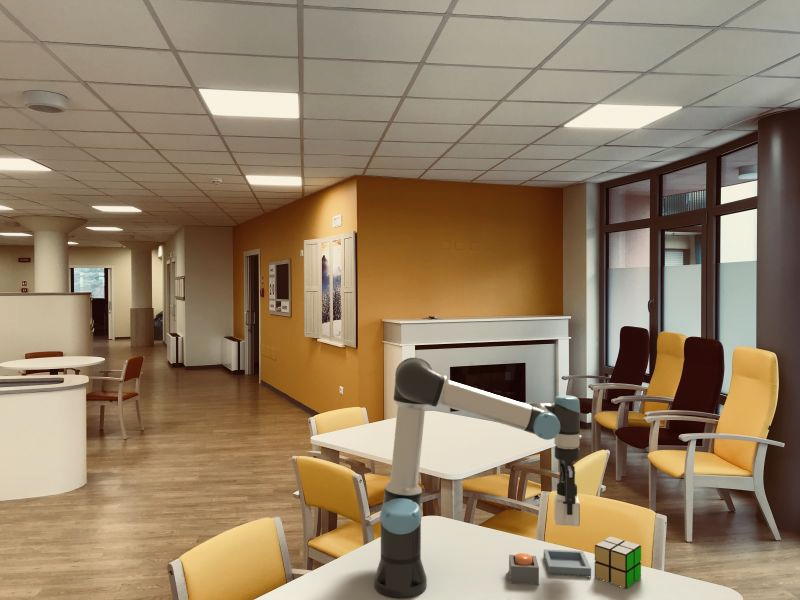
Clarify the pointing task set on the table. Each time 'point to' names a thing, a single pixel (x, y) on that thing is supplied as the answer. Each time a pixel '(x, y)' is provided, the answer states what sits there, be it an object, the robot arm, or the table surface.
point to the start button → (523, 559)
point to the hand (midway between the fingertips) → (566, 519)
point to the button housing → (524, 572)
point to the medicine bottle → (560, 506)
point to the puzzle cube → (618, 561)
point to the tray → (567, 563)
